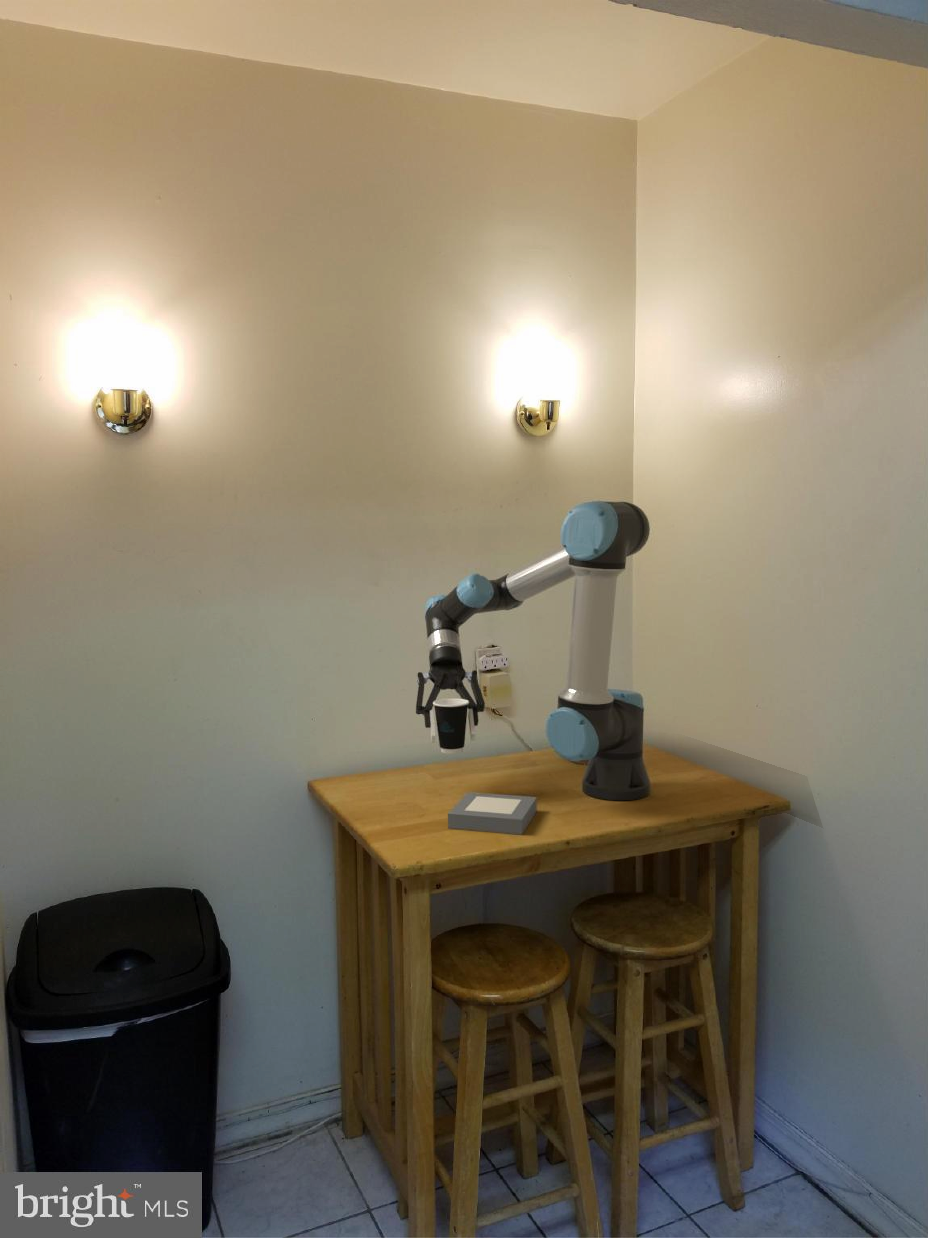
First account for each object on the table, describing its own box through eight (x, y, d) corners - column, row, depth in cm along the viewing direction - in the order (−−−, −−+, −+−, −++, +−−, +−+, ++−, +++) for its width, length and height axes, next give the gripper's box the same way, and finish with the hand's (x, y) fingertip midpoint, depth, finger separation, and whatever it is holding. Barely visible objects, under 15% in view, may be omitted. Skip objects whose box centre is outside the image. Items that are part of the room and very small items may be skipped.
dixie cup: (466, 745, 207) (465, 697, 206) (473, 754, 200) (472, 704, 199) (431, 748, 206) (430, 699, 205) (437, 756, 198) (436, 706, 197)
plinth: (536, 811, 194) (536, 796, 194) (521, 834, 180) (521, 819, 179) (468, 805, 198) (467, 791, 198) (447, 828, 184) (447, 813, 183)
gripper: (488, 662, 217) (499, 745, 203) (399, 665, 215) (404, 749, 201) (490, 642, 212) (502, 726, 197) (400, 645, 209) (405, 730, 195)
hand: (453, 738), depth 199 cm, fingers closed on dixie cup, 8 cm apart
